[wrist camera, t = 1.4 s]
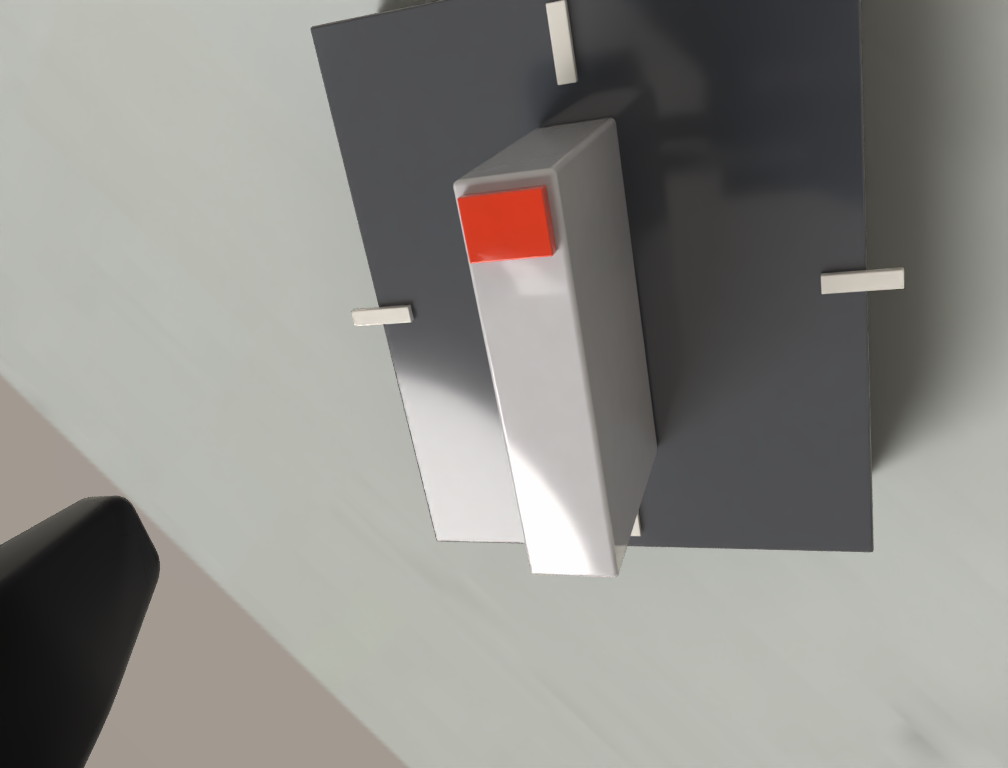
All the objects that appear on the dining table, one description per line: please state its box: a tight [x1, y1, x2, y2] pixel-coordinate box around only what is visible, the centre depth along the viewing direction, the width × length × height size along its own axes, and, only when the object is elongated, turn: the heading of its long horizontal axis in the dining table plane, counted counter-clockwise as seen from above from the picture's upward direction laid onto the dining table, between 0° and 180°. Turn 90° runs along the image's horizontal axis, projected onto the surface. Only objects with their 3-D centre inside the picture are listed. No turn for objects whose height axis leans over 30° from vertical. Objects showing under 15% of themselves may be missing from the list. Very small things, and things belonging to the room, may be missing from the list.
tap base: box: [311, 0, 904, 552], centre depth 19 cm, size 12×11×3 cm
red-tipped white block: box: [453, 118, 658, 577], centre depth 16 cm, size 7×2×5 cm, turn 11°
